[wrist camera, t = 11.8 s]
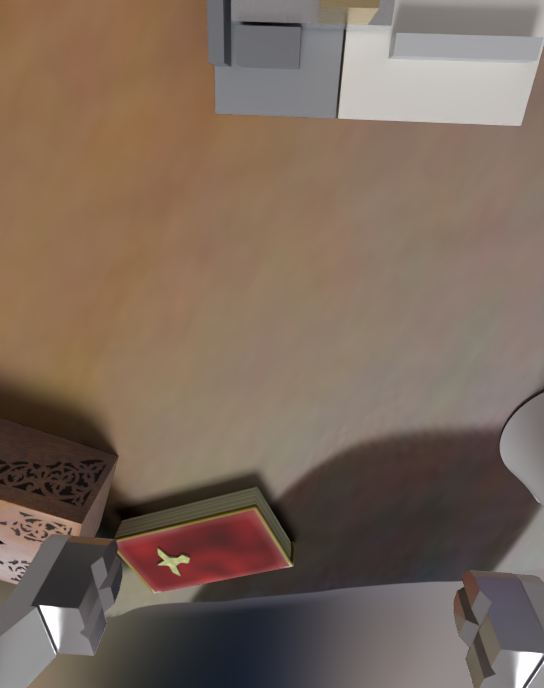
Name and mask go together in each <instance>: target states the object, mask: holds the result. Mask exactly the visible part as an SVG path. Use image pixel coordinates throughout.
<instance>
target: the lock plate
mask: <svg viewBox="0 0 544 688" xmlns="http://www.w3.org/2000/svg"><path fill="white" fill-rule="evenodd" d="M207 24H208V56H209V63H210V64H212V65H215V104H216V113H217V114H242V115H267V116H291V117H316V118H335V116H336V106H337V95H338V85H339V74H340V63H341V53H342V42H343V32H344V30H337V29H305V28H301V27H280V26H248V25H236V26H235V25H234V23H233V22H232V21H231V0H207ZM543 46H544V0H395V5H394V12H393V20H392V26H391V27H390V28H389V29H388V30H387V31H369V30H345V34H344V44H343V55H342V65H341V76H340V86H339V96H338V107H337V117H336V118H340V119H365V120H390V121H414V122H439V123H463V124H488V125H512V126H521V123H522V120H523V116H524V113H525V109H526V106H527V102H528V99H529V95H530V92H531V88H532V85H533V81H534V78H535V74H536V71H537V67H538V64H539V60H540V56H541V53H542V49H543Z"/></svg>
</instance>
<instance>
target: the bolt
mask: <svg viewBox="0 0 544 688" xmlns="http://www.w3.org/2000/svg"><path fill="white" fill-rule="evenodd" d="M394 5H395V0H231V21H232V22H233V23H234V25H235V26H236V25H248V26H280V27H301V28H305V29H337V30H369V31H387V30H388V29H389V28H390V27H391V26H392V20H393V12H394Z"/></svg>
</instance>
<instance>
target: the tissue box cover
mask: <svg viewBox="0 0 544 688" xmlns="http://www.w3.org/2000/svg"><path fill="white" fill-rule="evenodd" d="M118 457H119V456H116V455H113V454H110V453H107V452H104V451H101V450H98V449H95V448H91V447H88V446H85V445H82V444H79V443H76V442H73V441H70V440H67V439H64V438H61V437H58V436H55V435H52V434H49V433H46V432H43V431H40V430H36V429H33V428H30V427H27V426H24V425H21V424H18V423H15V422H12V421H9V420H6V419H3V418H0V580H2V581H6V582H10V583H13V584H18V583H19V581H20V579H21V578H22V576H23V575H24V573H25V571H26V570H27V568H28V566H29V565H30V563H31V562H32V560H33V558H34V557H35V555H36V553H37V552H38V550H39V549H40V547H41V545H42V544H43V542H44V540H46V539H47V538H48V537H49V536H50V535H51V534H62V535H74V536H81V537H91V538H94V536H95V534H96V532H97V530H98V528H99V526H100V522H101V518H102V515H103V511H104V508H105V504H106V500H107V497H108V493H109V490H110V486H111V482H112V479H113V475H114V471H115V468H116V464H117V461H118Z"/></svg>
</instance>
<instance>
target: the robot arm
mask: <svg viewBox="0 0 544 688" xmlns="http://www.w3.org/2000/svg"><path fill="white" fill-rule="evenodd" d="M500 453H501V457H502V459H503V462H504V463H505V465H506V466H507V468H508V469H509V470H510V471H511V472H512V473H513V474H514V475H516V476H517V477H518V478H519V479H520V480H521V481H522V482H523V483H524V485H525V486H526V487H527V488H528V489H529V490H530V492H531V493H532V495H533V496H534V497H535V499H536V500H537V501H538V502H539V503H541V505H542V506H543V507H544V392H543V393H541V394H540V395H538V396H536V397H534V398H533V399H531V400H530V401H528V402H527V403H526V404H524V405H523V406H522V407H521V408H520V409H519V410H518V411H517V412H516V413H515V414H514V415H513V416H512V417H511V419H510V420H509V421H508V423H507V425H506V426H505V428H504V431H503V433H502V436H501V440H500ZM118 549H119V548H118V545H117V541H116V540H112V539H102V538H91V537H81V536H74V535H62V534H51V535H50V536H49V537H48V538H47V539H46V540H44V542H43V544H42V545H41V547H40V549H39V550H38V552H37V553H36V555H35V557H34V558H33V560H32V562H31V563H30V565H29V566H28V568H27V570H26V571H25V573H24V575H23V576H22V578H21V579H20V581H19V583H18V584H17V586H16V588H15V589H14V591H13V593H12V594H11V596H10V597H9V599H8V601H7V602H6V603H0V688H26V687H27V686H28V685H29V684H30V683H31V682H32V681H33V680H34V679H35V678H36V677H37V675H38V674H39V673H40V672H41V671H42V670H43V669H44V668H45V667H46V666H47V665H48V664H49V663H50V662H51V661H52V660H53V659H54V658H55V657H56V653H65V654H78V655H93V656H94V654H95V652H96V649H97V647H98V644H99V642H100V639H101V637H102V634H103V632H104V629H105V627H106V624H107V623H106V619H105V615H104V612H105V611H107V610H108V609H109V608H110V607H111V606H112V605H113V604H114V603H115V601H116V598H117V596H118V593H119V590H120V585H121V581H122V573H123V567H122V562H121V560H120V559H119V558H118V557H116V554H117V551H118ZM462 581H463V584H464V587H463V588H461V589H460V590H458V591H457V593H456V596H455V599H454V617H455V623H456V627H457V631H458V634H459V637H460V638H461V639H462V640H463V641H464V642H465V643H466V645H467V646H468V647H469V650H468V653H467V656H466V662H467V666H468V669H469V672H470V676H471V679H472V683H473V686H474V688H544V582H543V581H542V580H541V579H540V578H539V577H537V576H532V575H519V574H512V573H501V572H486V571H472V570H469V571H467V572H465V574H464V576H463V578H462Z"/></svg>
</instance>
